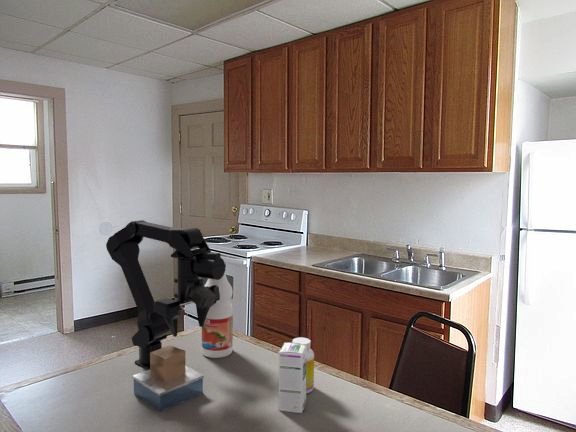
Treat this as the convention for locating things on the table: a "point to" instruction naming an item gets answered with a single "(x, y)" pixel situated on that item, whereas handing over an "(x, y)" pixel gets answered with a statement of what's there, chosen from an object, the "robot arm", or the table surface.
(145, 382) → the slate tin
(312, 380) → the supplement bottle
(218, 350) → the fruit juice
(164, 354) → the walnut block
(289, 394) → the syrup box
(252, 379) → the table surface
